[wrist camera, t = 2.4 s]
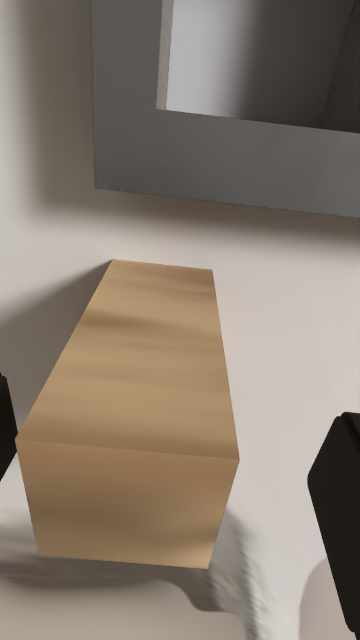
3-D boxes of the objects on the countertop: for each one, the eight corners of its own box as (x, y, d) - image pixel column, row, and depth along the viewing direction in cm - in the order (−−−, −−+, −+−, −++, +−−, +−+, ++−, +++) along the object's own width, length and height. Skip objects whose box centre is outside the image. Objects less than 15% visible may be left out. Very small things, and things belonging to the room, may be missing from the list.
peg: (199, 350, 18) (207, 568, 9) (112, 341, 18) (38, 555, 9) (212, 269, 16) (239, 460, 7) (112, 259, 15) (14, 439, 7)
